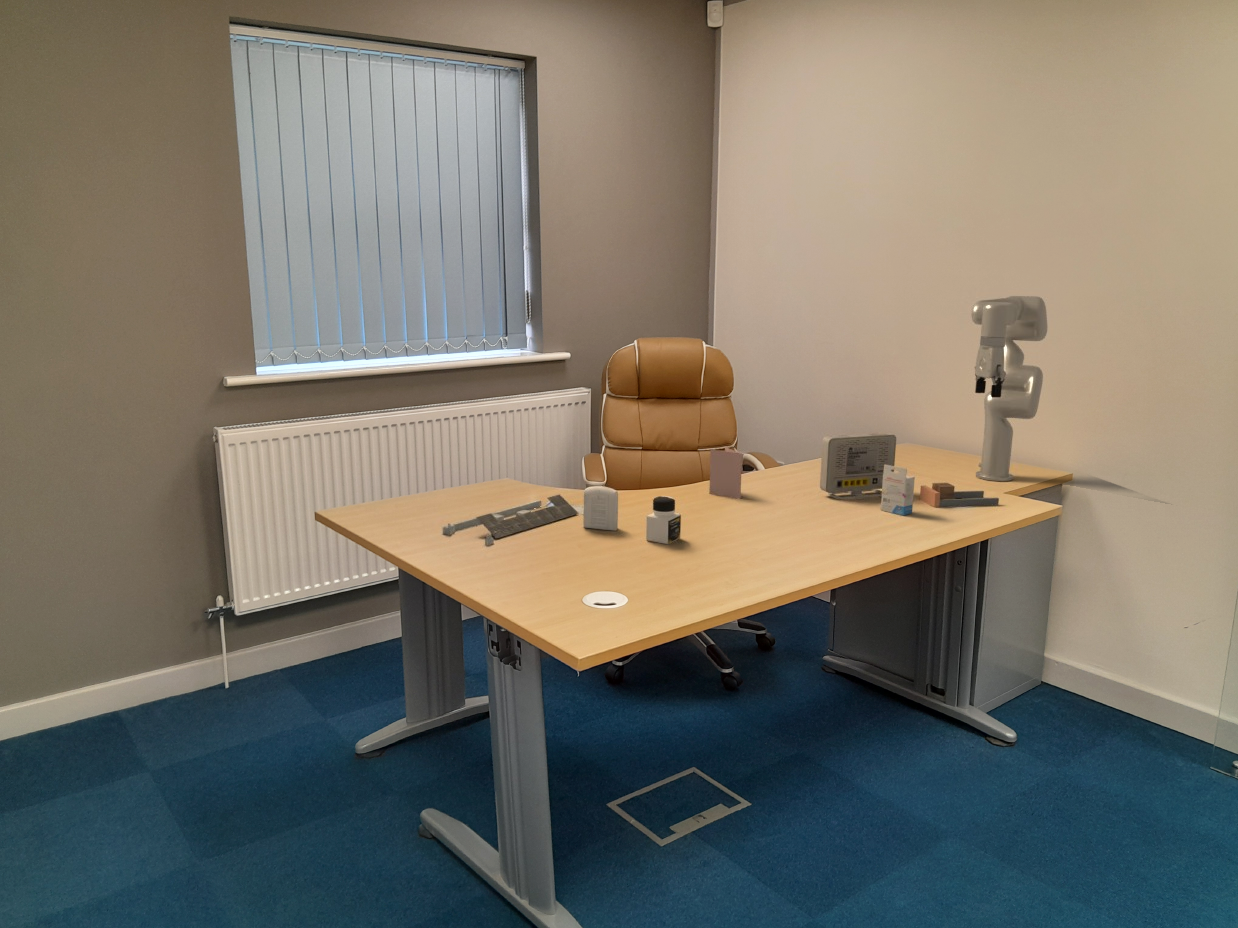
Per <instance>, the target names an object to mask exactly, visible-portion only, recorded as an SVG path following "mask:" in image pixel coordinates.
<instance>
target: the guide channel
mask: <svg viewBox="0 0 1238 928" xmlns="http://www.w3.org/2000/svg"><path fill="white" fill-rule="evenodd" d="M919 491H920V493H919V500H921V501H923V502H924V503H926V504H928V505H930V506H932V507H933V508H946V507H947V508H948V507H949V508H950V507H980V506H999V500H1000V499H999V497H984V495H985V491H984V490H960V491H958V490H954V499H940V493H939V492H937V491H935V490H933V489H932V487H929V486H927V485H920V490H919ZM955 498H962V499H955ZM968 505H969V506H968Z"/></svg>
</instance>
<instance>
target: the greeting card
mask: <svg viewBox="0 0 1238 928" xmlns="http://www.w3.org/2000/svg"><path fill="white" fill-rule="evenodd" d="M709 455H710V456H709V457H710V460H709V461H710V463H709V464H710V465H709V491H708V492H709V493H708V494H709V495H715V496H720V497H725V498H726V497H728V498H734V499H741V495H742V493H741V492H742V467H743V453H741V452H739V451H736V450H733V449H731V448H728V447H726V446H725V447H724V451H723V450H717V449H716V450H715V449H710V454H709Z"/></svg>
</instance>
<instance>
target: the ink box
mask: <svg viewBox="0 0 1238 928" xmlns="http://www.w3.org/2000/svg"><path fill="white" fill-rule="evenodd" d="M891 470H894V472H892V471H891ZM895 470H896V471H898V472H896V471H895ZM907 471H908V470H907V468H906V467H905V468H904V467H899V466H896V465H894V466H890V465H884V474H883V484H882V489H881V491H882V496H881V502H880V510H881V511H882V512H887V513H891V514H896V515H899V516H906V515H910V514H912V513H913V504H914V492H915V491H914V490H915V477H916V476H912V475H908V474H907Z"/></svg>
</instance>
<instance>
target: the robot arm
mask: <svg viewBox="0 0 1238 928" xmlns="http://www.w3.org/2000/svg"><path fill="white" fill-rule="evenodd" d="M1047 313H1048V312H1047V307H1046V304H1045V300H1044V299H1043V298H1042V297H1040V296H1033V295H1031V296H1029V295H1027V296H1026V295H1011V296H1007V297H1005V298H1002V297H1001V298H1000V297H999V298H994V299H993V298H992V299H982V300H978V301H976V302H975V303H974V305H973V307H972V309H971V313H970V315H971V316H970V317H971V321H972V322H973V323H974V324H975V325H979V326H980V325H981V329H980V339H979V346H978V351H977V354H976V355H977V356H976V361H975V366H974V375H975V391H974V392H975V393H976V394H985V393H986V385H987V381H986V379H991V382H992V385H991V390H990V391H988V392H987V393H986V394H985V396H984V401H983V405H984V428H983V429H984V430H983V431H984V432H983V441H982V452H981V462H979V463H978V464H977V465H978V467H979V468H980V470H979V471H976V472H975V477H976V478H979V479H982V480H986V481H994V482H1008V481H1009V482H1010V481H1012V480H1013V479H1014V475H1013V474H1012V473H1010V465H1011V456H1012V446H1013V436H1014V430H1013V429H1014V428H1013V426H1012V425H1011V422H1009V420H1008V419H1019V420H1021V419H1022V420H1030V419H1034V418H1035V417H1036V416H1037V415H1036V414H1037V412H1038V408H1039V403H1040V397H1041V392H1042V388H1043V381H1044V379H1043V378H1044V374H1043V371H1042V368H1040V367H1039V366H1035V365H1027V364H1024V360H1025V354H1024V352H1023V350H1022V349H1021V348H1020V346H1019V345H1018V344H1017V343H1016V342H1015V341H1020V342H1021V341H1025V342H1039V341H1040V342H1041V341H1043V340H1044V339H1045V338H1046V336H1047V333H1048V317H1047V316H1048V315H1047Z"/></svg>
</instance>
